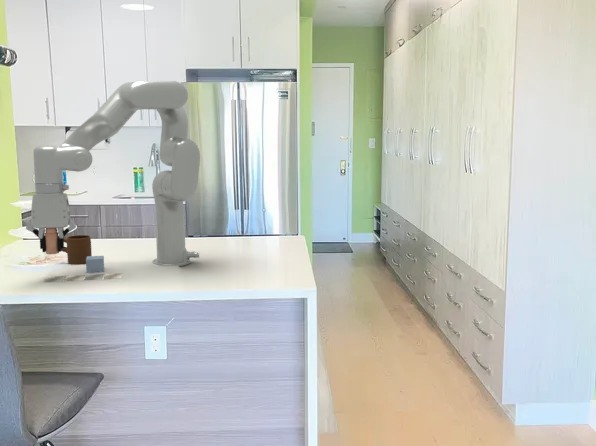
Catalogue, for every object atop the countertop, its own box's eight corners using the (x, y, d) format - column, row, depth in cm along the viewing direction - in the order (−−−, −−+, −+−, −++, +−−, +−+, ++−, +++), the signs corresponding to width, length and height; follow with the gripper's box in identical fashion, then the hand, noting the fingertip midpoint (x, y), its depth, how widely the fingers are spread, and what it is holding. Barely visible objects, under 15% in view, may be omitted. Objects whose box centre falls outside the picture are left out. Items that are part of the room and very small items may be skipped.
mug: (51, 265, 187) (49, 237, 186) (64, 260, 195) (62, 234, 193) (84, 267, 185) (82, 239, 184) (96, 262, 193) (95, 235, 191)
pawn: (60, 251, 168) (59, 224, 167) (56, 254, 164) (55, 226, 163) (48, 251, 168) (47, 224, 166) (43, 254, 164) (42, 226, 163)
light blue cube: (104, 270, 182) (103, 255, 181) (103, 274, 177) (102, 258, 176) (87, 271, 180) (87, 256, 180) (86, 275, 176) (85, 259, 175)
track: (123, 275, 176) (123, 272, 175) (122, 281, 169) (122, 278, 169) (47, 279, 170) (47, 276, 170) (43, 285, 164) (42, 282, 163)
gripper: (81, 187, 169) (83, 248, 172) (21, 188, 165) (24, 249, 168) (78, 190, 162) (80, 252, 164) (15, 190, 158) (18, 254, 160)
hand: (52, 250), depth 166 cm, fingers closed on pawn, 3 cm apart
